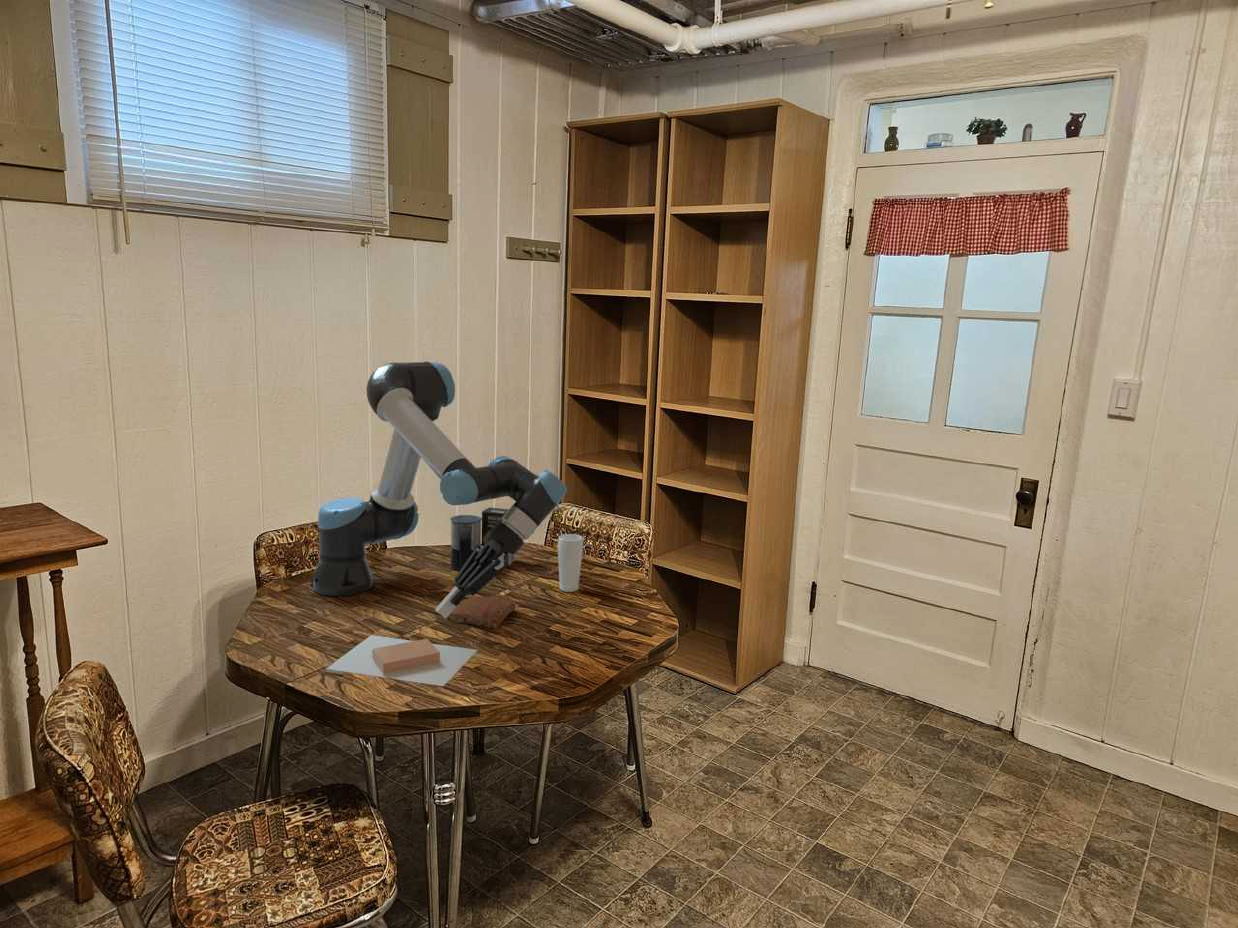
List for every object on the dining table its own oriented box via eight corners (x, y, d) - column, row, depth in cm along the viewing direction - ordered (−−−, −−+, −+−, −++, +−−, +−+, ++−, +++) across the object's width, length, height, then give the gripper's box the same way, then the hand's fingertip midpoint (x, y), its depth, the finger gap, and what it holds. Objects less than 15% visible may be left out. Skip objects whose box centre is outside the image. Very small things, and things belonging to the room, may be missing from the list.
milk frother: (446, 563, 234) (446, 515, 232) (497, 558, 242) (497, 511, 239) (459, 578, 222) (459, 528, 219) (512, 572, 229) (513, 523, 226)
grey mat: (326, 672, 162) (326, 668, 162) (371, 638, 180) (371, 635, 179) (443, 689, 157) (443, 686, 157) (477, 653, 174) (477, 649, 174)
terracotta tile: (427, 638, 173) (372, 648, 167) (439, 652, 166) (383, 663, 160) (427, 649, 173) (372, 659, 167) (439, 663, 167) (383, 675, 160)
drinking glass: (561, 594, 213) (563, 541, 210) (553, 586, 219) (554, 534, 216) (584, 592, 215) (586, 539, 212) (576, 584, 221) (577, 533, 219)
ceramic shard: (464, 584, 203) (518, 599, 200) (459, 608, 203) (513, 623, 201) (440, 596, 188) (499, 612, 186) (435, 622, 189) (493, 638, 186)
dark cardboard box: (480, 563, 236) (480, 511, 233) (487, 557, 242) (488, 506, 239) (509, 566, 234) (510, 514, 231) (515, 560, 240) (516, 509, 237)
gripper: (535, 548, 171) (462, 634, 165) (511, 533, 182) (442, 613, 176) (513, 527, 167) (438, 614, 162) (490, 513, 178) (418, 594, 173)
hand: (440, 614), depth 169 cm, fingers closed
